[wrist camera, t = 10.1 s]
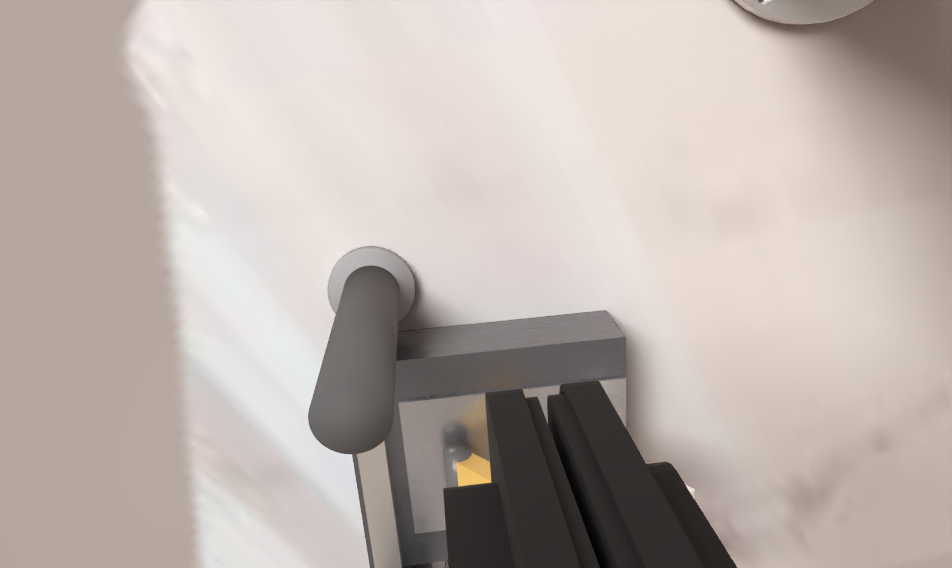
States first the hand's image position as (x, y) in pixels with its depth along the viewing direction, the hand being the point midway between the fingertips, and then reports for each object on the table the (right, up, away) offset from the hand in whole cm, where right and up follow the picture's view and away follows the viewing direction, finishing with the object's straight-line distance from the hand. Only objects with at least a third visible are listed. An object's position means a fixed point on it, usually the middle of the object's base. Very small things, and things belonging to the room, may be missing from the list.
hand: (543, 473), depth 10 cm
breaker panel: (0, -6, +33) cm, 34 cm away
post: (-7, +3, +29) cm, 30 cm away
